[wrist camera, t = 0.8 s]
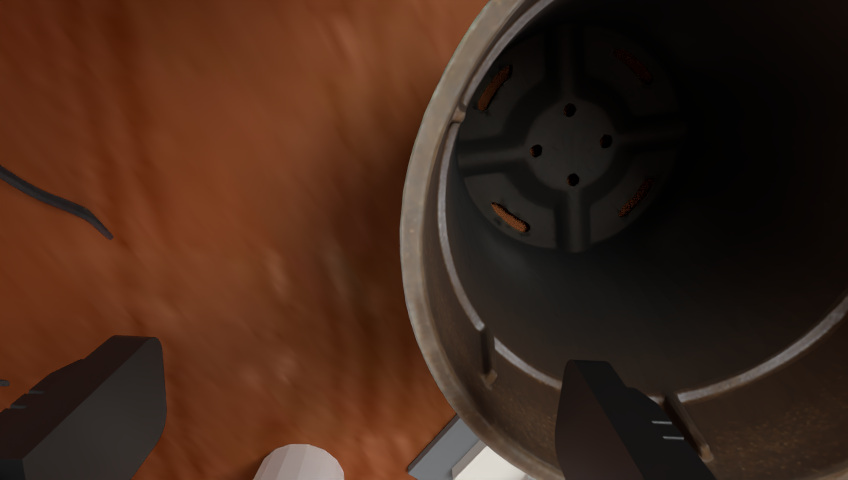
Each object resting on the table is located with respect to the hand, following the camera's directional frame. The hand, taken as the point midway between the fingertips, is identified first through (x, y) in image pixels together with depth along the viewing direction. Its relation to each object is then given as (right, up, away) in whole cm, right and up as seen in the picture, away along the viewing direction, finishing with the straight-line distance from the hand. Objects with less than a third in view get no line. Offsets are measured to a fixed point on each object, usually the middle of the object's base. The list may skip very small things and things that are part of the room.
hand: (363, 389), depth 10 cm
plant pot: (+9, +8, +17) cm, 21 cm away
